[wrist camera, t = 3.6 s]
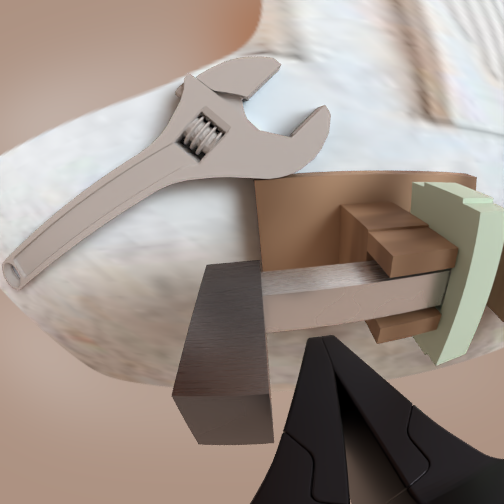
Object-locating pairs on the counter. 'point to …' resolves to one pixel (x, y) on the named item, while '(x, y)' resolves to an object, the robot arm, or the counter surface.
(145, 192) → the adjustable wrench
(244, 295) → the shaft
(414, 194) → the spacer
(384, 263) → the stand
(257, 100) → the counter surface
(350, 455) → the robot arm
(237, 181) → the counter surface
